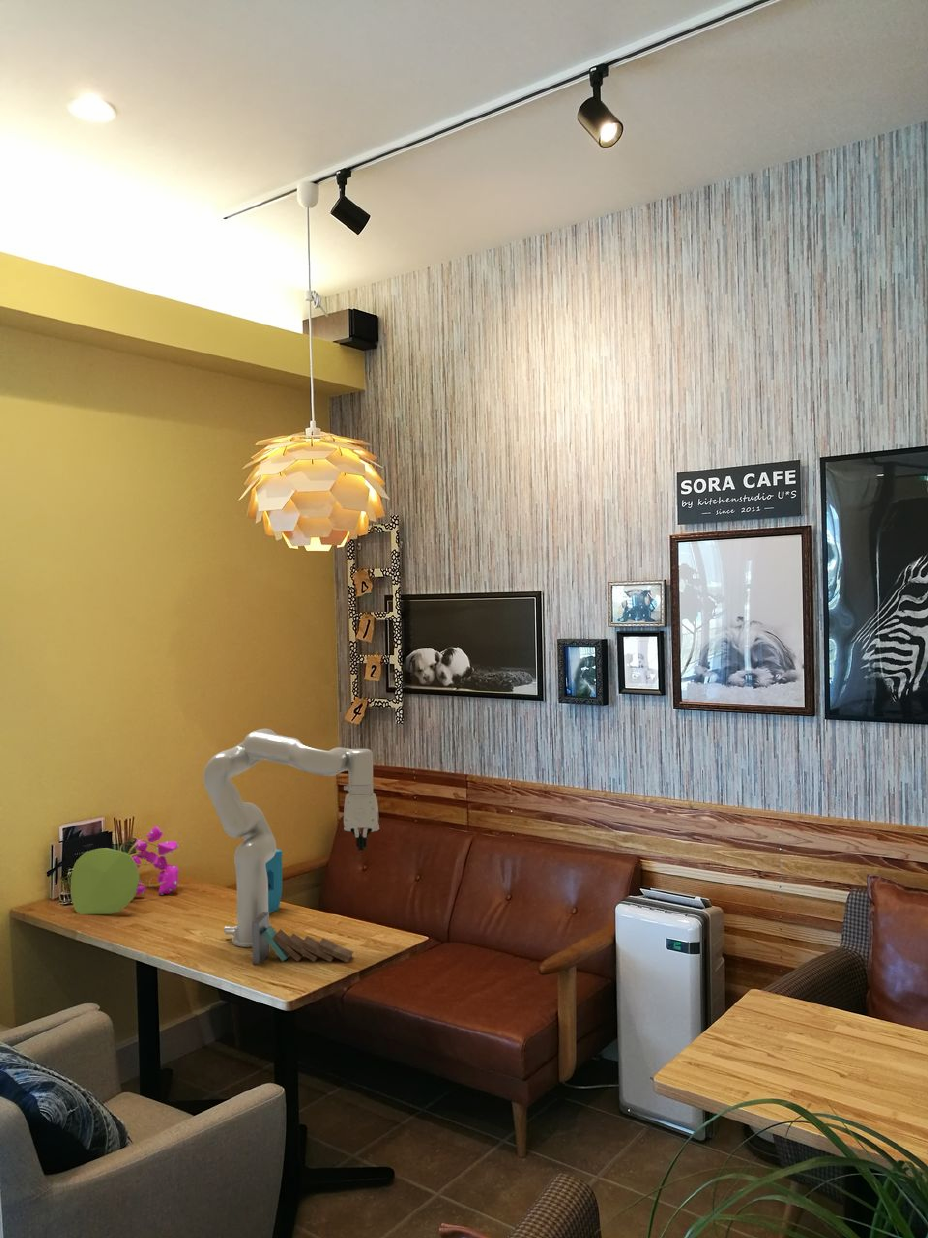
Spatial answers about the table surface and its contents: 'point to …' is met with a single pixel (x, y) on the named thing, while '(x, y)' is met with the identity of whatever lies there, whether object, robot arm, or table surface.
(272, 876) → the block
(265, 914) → the bookend
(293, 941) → the walnut tile
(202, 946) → the table surface
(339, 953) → the walnut tile
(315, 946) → the walnut tile
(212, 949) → the table surface
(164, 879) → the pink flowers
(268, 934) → the teal tile
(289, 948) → the walnut tile
